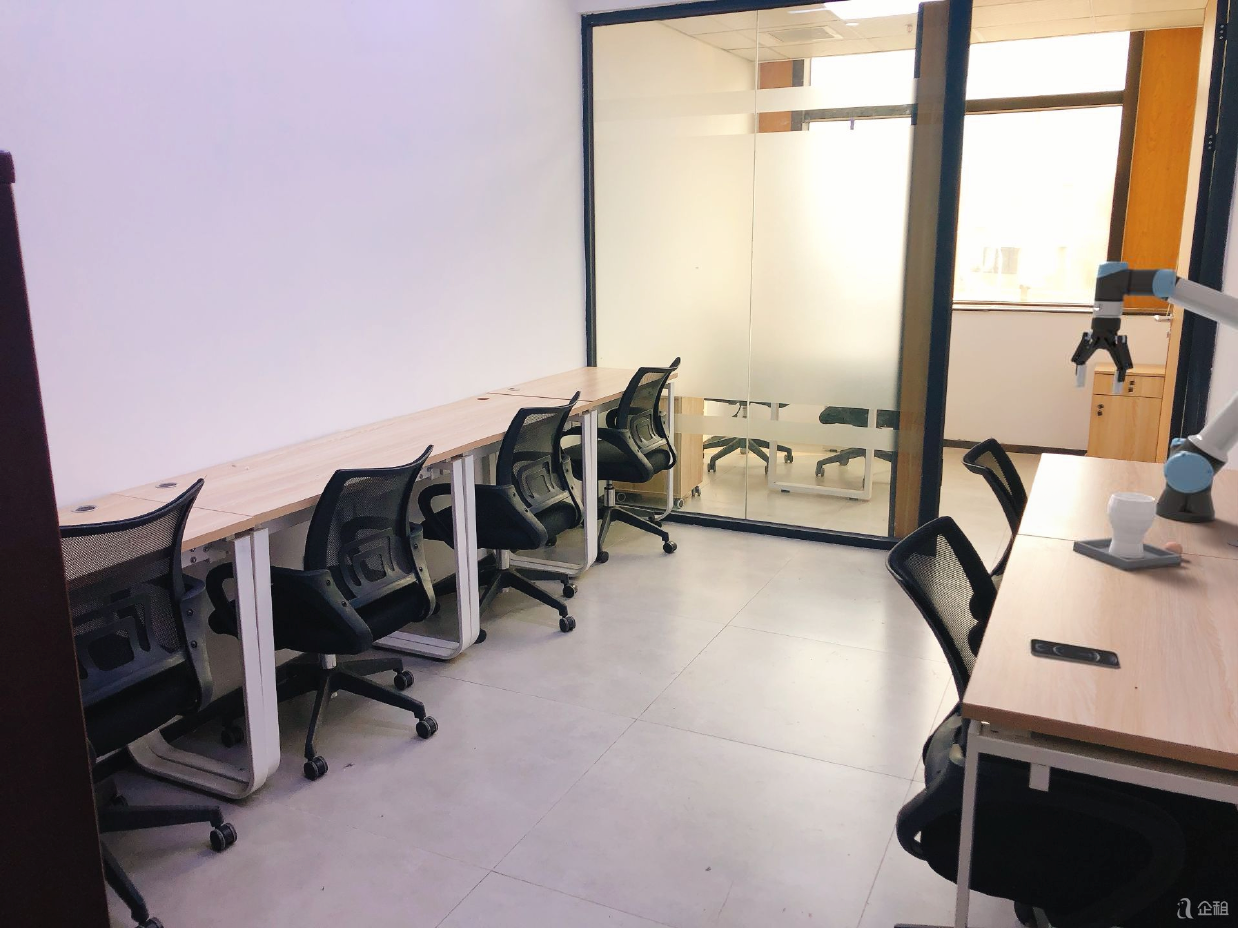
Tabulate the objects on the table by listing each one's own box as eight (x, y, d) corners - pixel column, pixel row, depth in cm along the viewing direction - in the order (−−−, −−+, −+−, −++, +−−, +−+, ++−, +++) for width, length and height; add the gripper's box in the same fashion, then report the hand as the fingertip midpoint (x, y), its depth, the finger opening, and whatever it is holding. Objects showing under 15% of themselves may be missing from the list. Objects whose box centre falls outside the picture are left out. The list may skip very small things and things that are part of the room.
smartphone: (1120, 667, 168) (1031, 652, 174) (1119, 671, 169) (1030, 656, 174) (1116, 651, 175) (1030, 637, 181) (1115, 656, 175) (1030, 642, 181)
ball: (1171, 553, 237) (1173, 539, 236) (1185, 558, 233) (1187, 543, 232) (1159, 555, 236) (1161, 540, 235) (1173, 560, 232) (1175, 544, 231)
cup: (1156, 562, 228) (1164, 503, 224) (1109, 559, 230) (1117, 500, 226) (1141, 549, 238) (1149, 492, 234) (1096, 546, 240) (1103, 490, 237)
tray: (1124, 545, 244) (1125, 536, 244) (1180, 564, 228) (1182, 555, 228) (1073, 550, 239) (1074, 541, 239) (1126, 570, 223) (1127, 561, 223)
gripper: (1063, 314, 275) (1055, 385, 280) (1132, 319, 252) (1122, 396, 256) (1083, 314, 277) (1075, 384, 282) (1153, 319, 254) (1143, 395, 259)
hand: (1097, 390), depth 269 cm, fingers open, 13 cm apart
